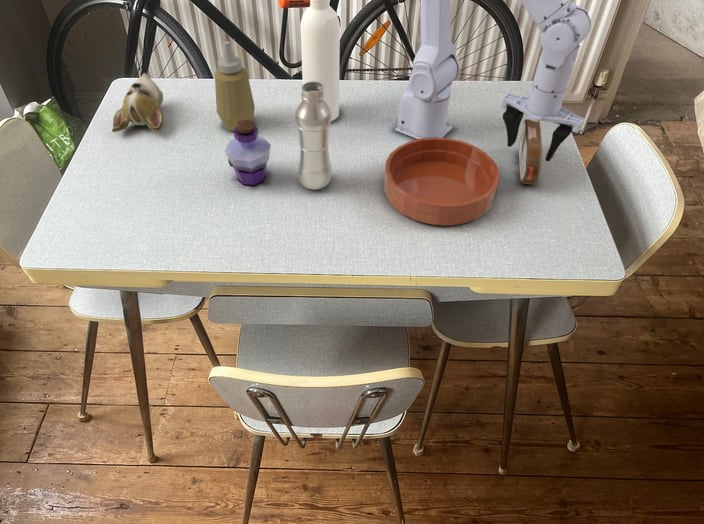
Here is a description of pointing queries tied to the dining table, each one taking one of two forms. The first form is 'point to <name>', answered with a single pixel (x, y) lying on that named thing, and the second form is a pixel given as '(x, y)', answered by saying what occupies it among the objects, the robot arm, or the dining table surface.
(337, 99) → the bottle
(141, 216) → the dining table surface
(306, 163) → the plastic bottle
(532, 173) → the tin
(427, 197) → the bowl
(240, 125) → the potion bottle
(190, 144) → the dining table surface
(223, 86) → the squeeze bottle
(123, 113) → the ceramic sculpture
